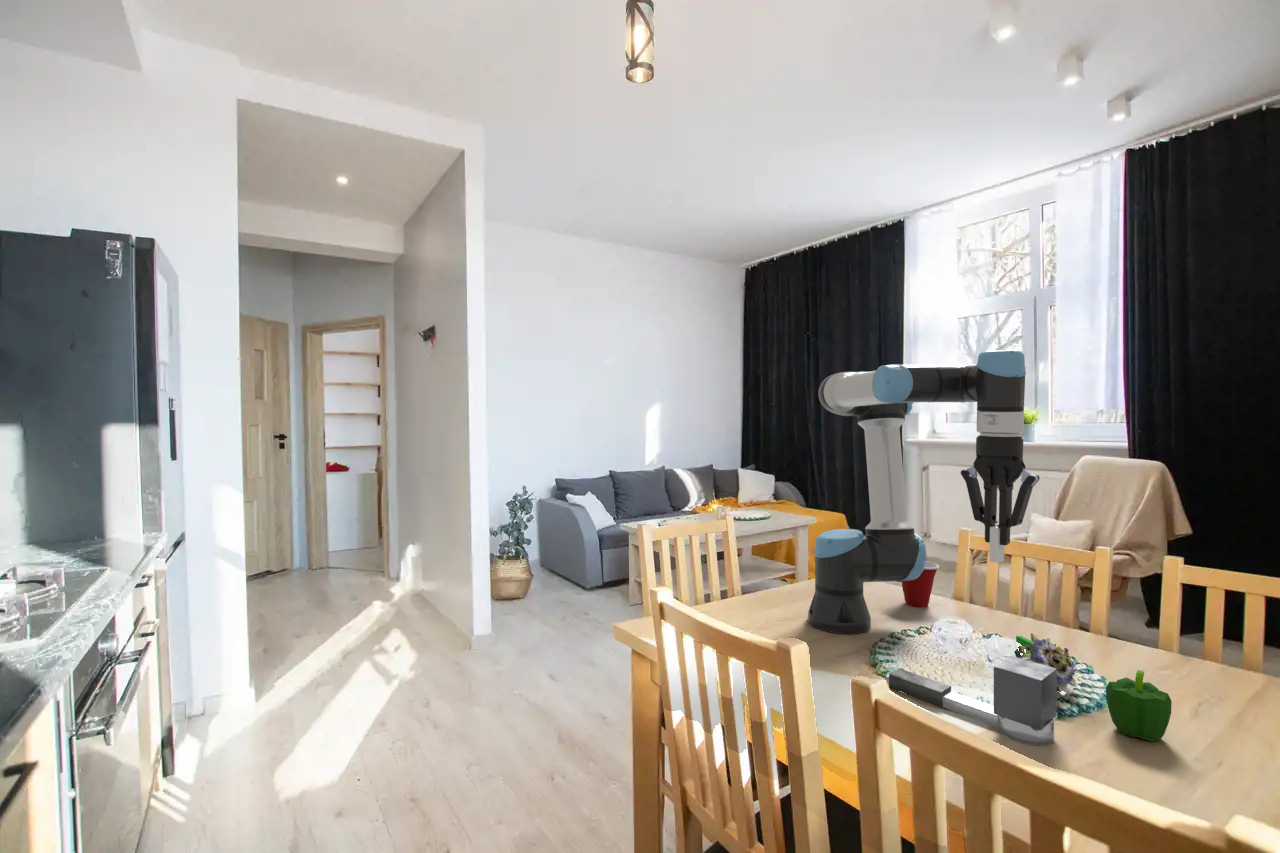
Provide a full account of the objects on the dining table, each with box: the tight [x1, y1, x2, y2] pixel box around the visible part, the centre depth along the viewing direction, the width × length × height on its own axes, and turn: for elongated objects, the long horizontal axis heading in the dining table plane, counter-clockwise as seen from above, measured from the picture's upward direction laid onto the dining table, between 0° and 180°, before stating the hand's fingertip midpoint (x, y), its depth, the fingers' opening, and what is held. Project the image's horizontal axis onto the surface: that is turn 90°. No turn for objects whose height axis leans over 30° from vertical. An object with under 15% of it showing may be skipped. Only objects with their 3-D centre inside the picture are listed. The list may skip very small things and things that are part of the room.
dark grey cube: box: [993, 655, 1058, 730], centre depth 102 cm, size 7×7×8 cm
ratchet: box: [884, 668, 1055, 747], centre depth 110 cm, size 28×8×7 cm, turn 38°
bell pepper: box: [1105, 669, 1172, 742], centre depth 101 cm, size 8×8×10 cm
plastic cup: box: [901, 560, 940, 608], centre depth 169 cm, size 11×11×12 cm
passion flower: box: [1013, 632, 1079, 693], centre depth 119 cm, size 11×11×12 cm
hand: (996, 560), depth 114 cm, fingers closed
